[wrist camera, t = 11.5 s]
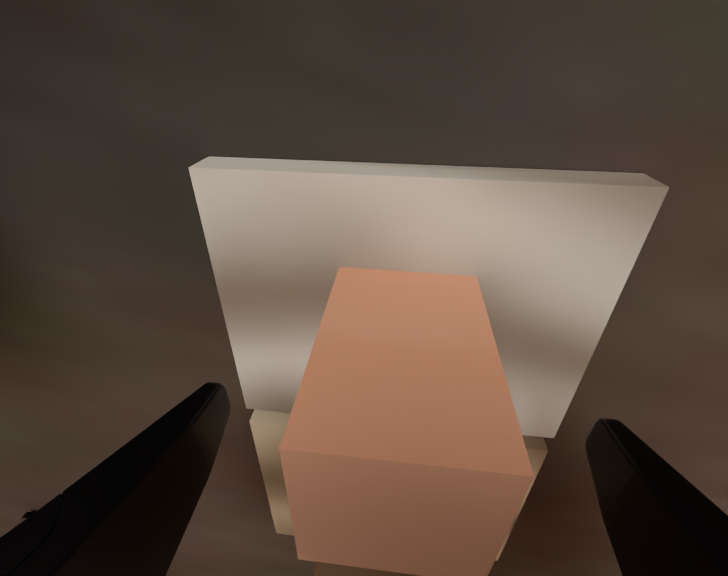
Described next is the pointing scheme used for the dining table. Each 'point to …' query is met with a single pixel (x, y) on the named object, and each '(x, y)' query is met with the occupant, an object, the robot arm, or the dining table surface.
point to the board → (418, 269)
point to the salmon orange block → (404, 430)
